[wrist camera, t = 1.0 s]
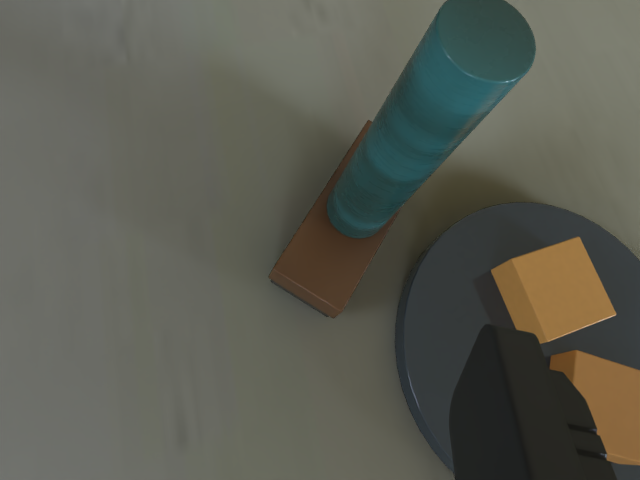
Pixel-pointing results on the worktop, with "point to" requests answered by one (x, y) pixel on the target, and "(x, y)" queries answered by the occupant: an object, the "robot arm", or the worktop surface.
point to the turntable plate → (501, 305)
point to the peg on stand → (405, 145)
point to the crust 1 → (553, 290)
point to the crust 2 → (607, 400)
